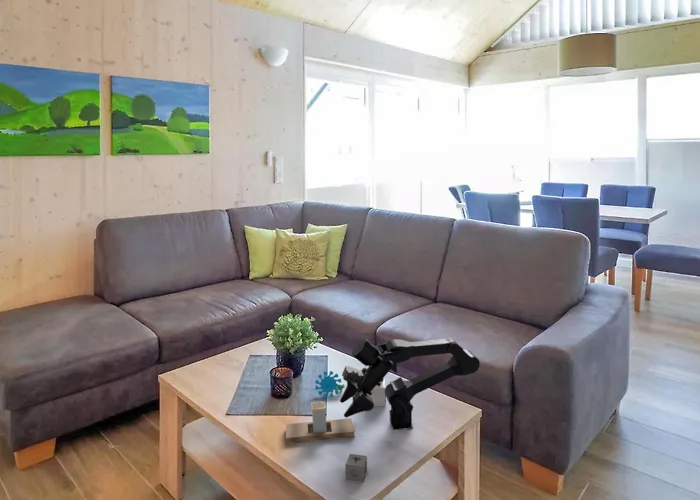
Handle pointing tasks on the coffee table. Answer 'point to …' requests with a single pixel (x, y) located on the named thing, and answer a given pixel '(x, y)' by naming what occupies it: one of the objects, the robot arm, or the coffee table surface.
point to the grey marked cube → (356, 468)
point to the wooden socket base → (300, 433)
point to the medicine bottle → (379, 394)
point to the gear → (329, 384)
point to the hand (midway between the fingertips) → (342, 409)
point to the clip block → (319, 417)
